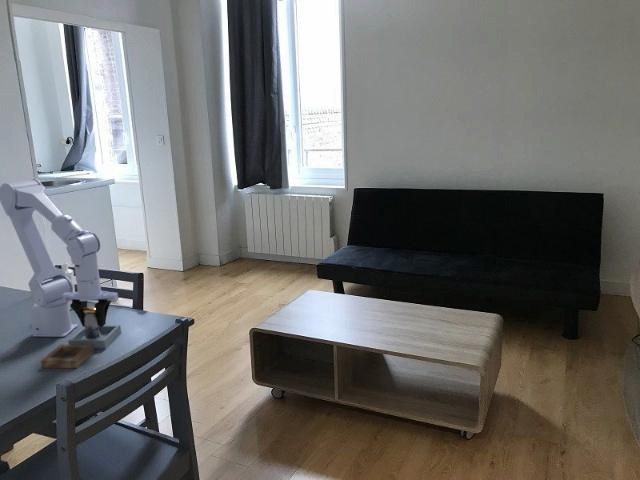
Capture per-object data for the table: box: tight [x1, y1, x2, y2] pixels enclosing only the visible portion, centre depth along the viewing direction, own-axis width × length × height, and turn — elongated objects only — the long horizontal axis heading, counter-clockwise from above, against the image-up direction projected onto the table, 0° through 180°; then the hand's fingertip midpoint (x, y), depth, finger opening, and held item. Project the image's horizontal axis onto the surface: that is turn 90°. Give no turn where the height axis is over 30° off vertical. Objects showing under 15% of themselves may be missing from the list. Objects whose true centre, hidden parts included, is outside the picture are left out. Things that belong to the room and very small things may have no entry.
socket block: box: [40, 343, 95, 369], centre depth 135 cm, size 9×9×2 cm
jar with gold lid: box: [82, 305, 101, 339], centre depth 144 cm, size 5×5×8 cm
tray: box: [67, 324, 122, 350], centre depth 146 cm, size 10×10×2 cm
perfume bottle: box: [60, 262, 76, 311], centre depth 169 cm, size 5×4×15 cm
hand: (94, 325), depth 145 cm, fingers closed on jar with gold lid, 4 cm apart
